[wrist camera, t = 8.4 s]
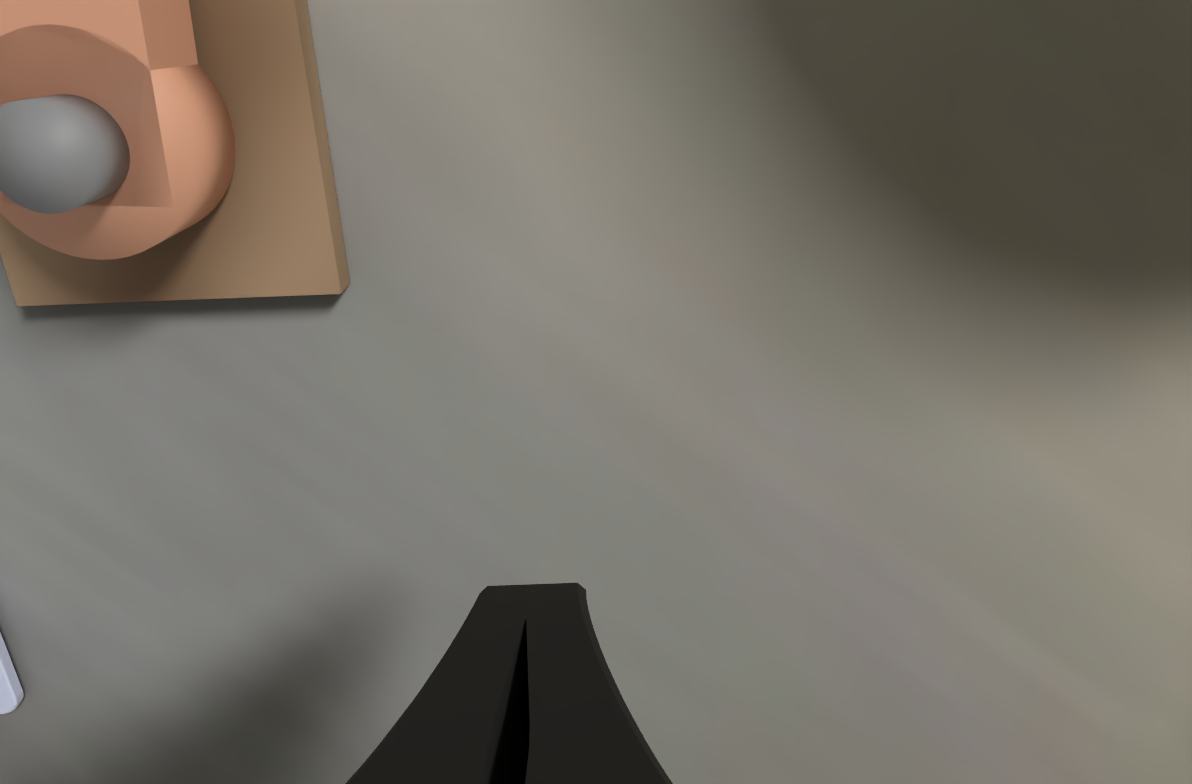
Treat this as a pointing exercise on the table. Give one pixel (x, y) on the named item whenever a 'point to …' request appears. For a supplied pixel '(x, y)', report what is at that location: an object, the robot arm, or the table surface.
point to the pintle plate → (254, 196)
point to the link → (107, 125)
